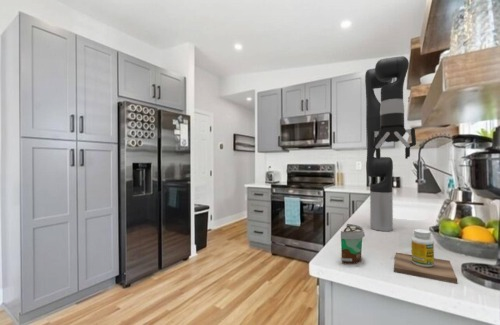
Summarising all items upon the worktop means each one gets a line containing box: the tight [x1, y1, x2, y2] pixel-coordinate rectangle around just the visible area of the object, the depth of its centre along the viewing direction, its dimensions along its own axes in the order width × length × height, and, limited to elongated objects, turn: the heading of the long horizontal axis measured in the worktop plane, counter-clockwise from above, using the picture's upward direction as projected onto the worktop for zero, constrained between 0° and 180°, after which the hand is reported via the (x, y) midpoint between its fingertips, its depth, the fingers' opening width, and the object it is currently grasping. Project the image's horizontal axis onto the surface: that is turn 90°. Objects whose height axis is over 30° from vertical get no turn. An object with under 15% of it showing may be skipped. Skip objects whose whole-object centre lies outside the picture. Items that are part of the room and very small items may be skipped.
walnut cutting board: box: [393, 252, 458, 284], centre depth 74 cm, size 14×14×1 cm
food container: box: [340, 223, 366, 265], centre depth 81 cm, size 12×6×10 cm, turn 151°
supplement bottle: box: [411, 228, 435, 267], centre depth 74 cm, size 5×5×10 cm
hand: (392, 158), depth 91 cm, fingers open, 8 cm apart
